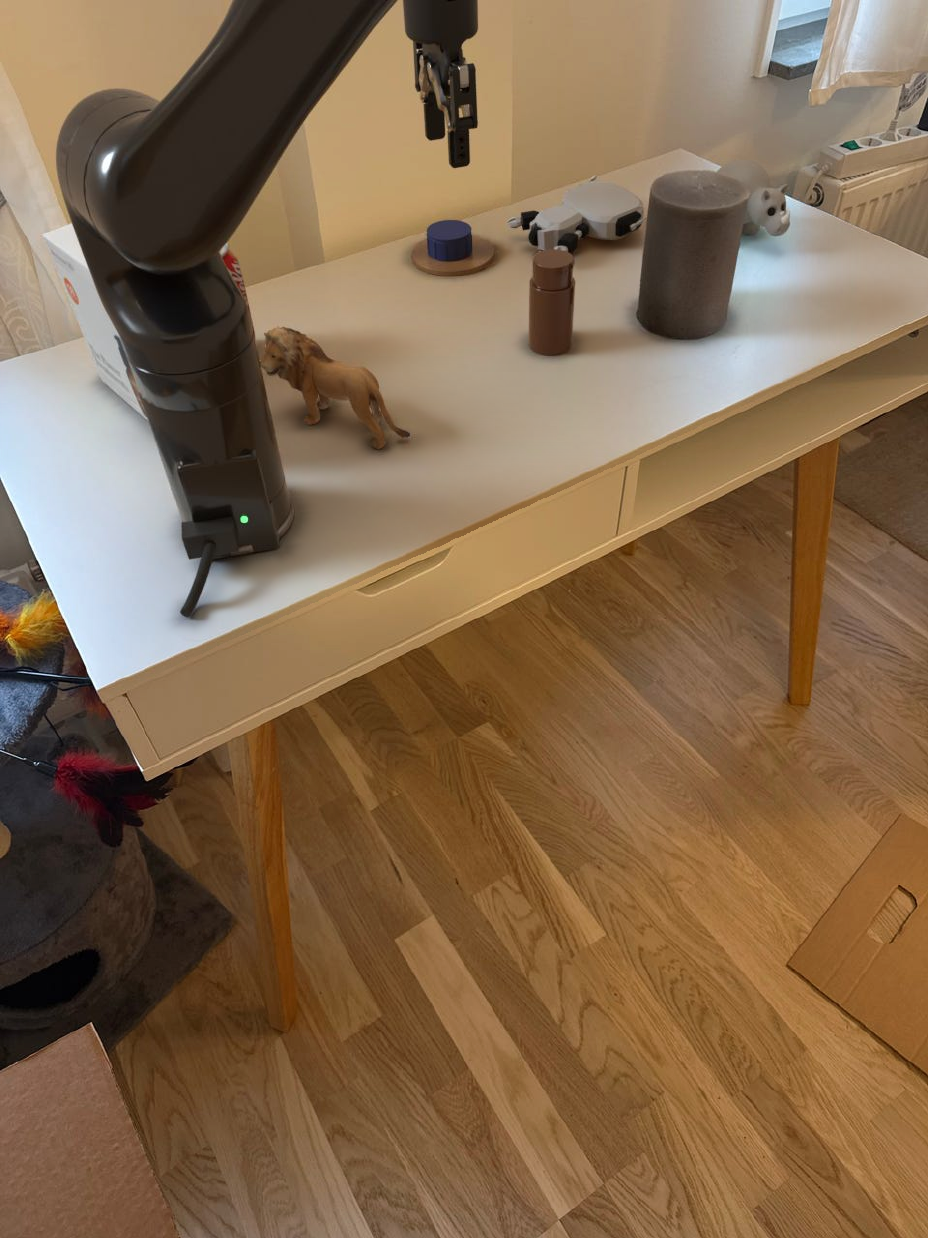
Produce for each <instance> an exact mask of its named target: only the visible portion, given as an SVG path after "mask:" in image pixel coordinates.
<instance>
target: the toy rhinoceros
mask: <svg viewBox="0 0 928 1238" xmlns="http://www.w3.org/2000/svg"><path fill="white" fill-rule="evenodd" d="M716 172H718V173H722V174H726V175H729V176H732V177H734V178H736V179H738V180H740V181H742V182H743V183H744V184H745V185H747V186H748V190H749V191H750V193H751V194H750V196H749V198H748V202H747V208H746V213H745V218H744V223H743V229H742V236H743V235H744V236H754V235H756V234H758V233H759V231H760V229H761V227H763V228H764V230H765V231H766V233H767V234H768V235H769V236H771V237H781V236H783V235H784V234H786V232H787V231H788V230H789V228H790V225H791V209H790V208H788V209H787V199H786V193H787V190H788V186H789V185H788V183H784V184H782V185H781V186H779V187H778V188H775V187H771V186H772V185H771V180H770V177H769V174H768V172H767V170H766V169H765V168H764V167H763V166H762V165H761V164H760V163H758V161H755V160H753V159H750V158H736V159H733V160H729V161H727V162H725V164H723V165H721V167H720V168H719V169H717V170H716Z"/></svg>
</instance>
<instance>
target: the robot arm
mask: <svg viewBox="0 0 928 1238" xmlns="http://www.w3.org/2000/svg"><path fill="white" fill-rule="evenodd" d="M397 2H398V0H231V3H230V5H229V7H228V9H227V12H226V14H225V16H224V18H223V20H222V22H221V24H220V25H219V27H218V29H217V31H216V32H215V33H214V35H213V36H212V38H211V40H210V41H209V42H208V44H207V46H206V47H204V50H202V52H201V53H200V54H199V56H197V58H196V59H195V60H194V62H193V63H192V64H191V65H190V66H189V68H188V69H187V71H185V73H184V74H183V75H182V77H181V78H180V79H179V80H178V82H177V83H175V85H174V86H173V87H172V88H171V89H170V90H169V91H168V93H167V94H166V95H165V96H164V97H163V98H161V100H159V99H157V98H155V97H153V96H151V95H150V94H147V93H143V92H141V91H138V90H134V89H128V88H121V87H120V88H119V87H117V88H106V89H101V90H99V91H96V92H93V93H91V94H88V95H87V96H85V97H84V98H82V99H81V100H80V101H79V102H78V103H76V105H74V106H73V108H71V110H70V112H69V113H68V114H67V115H66V117H65V119H64V121H63V122H62V124H61V127H60V129H59V133H58V136H57V141H56V148H55V168H56V175H57V180H58V184H59V189H60V192H61V196H62V199H63V202H64V205H65V208H66V211H67V213H68V217H69V219H70V223H72V225H73V228H74V231H75V233H76V236H77V239H78V242H79V244H80V247H81V250H82V252H83V255H84V258H85V260H86V263H87V266H88V268H89V271H90V274H91V277H92V279H93V282H94V285H95V287H96V290H97V293H98V295H99V297H100V300H101V302H102V304H103V306H104V308H105V310H106V312H107V314H108V316H109V318H110V319H111V321H112V323H113V325H114V327H115V328H116V330H117V332H118V334H119V337H120V339H121V342H122V344H123V347H124V350H125V353H126V355H127V359H128V362H129V365H130V368H131V371H132V373H133V376H134V379H135V382H136V385H137V388H138V391H139V395H140V398H141V401H142V404H143V407H144V410H145V413H146V416H147V419H148V421H147V422H148V425H149V428H150V430H151V433H152V437H153V439H154V443H155V446H156V449H157V452H158V454H159V457H160V460H161V463H162V466H163V469H164V472H165V475H166V478H167V480H168V483H169V487H170V490H171V492H172V496H173V499H174V501H175V503H176V507H177V509H178V513H179V515H180V519H181V524H180V525H181V541H182V543H183V547H184V550H185V552H186V555H187V558H188V560H194V559H200V561H199V564H198V568H197V572H196V575H195V578H194V581H193V583H192V585H191V588H190V591H189V592H188V595H187V597H186V600H185V602H184V604H183V605H182V607H181V609H180V610H179V613H180V615H181V616H182V617H184V618H190V617H191V616H192V614H193V612H194V611H195V609H196V607H197V605H198V603H199V600H200V598H201V596H202V593H203V590H204V588H205V585H206V583H207V579H208V577H209V573H210V571H211V567H212V563H213V560H217V559H222V558H229V557H235V556H243V555H247V554H251V553H259V552H264V551H269V550H276V549H279V547H280V539H281V538H282V537H283V536H284V535H285V534H286V533H287V531H288V530H289V529H290V527H291V525H292V523H293V521H294V517H295V511H294V505H293V501H292V497H291V495H290V492H289V486H288V483H287V479H286V474H285V470H284V467H283V462H282V461H283V460H282V456H281V452H280V448H279V443H278V438H277V434H276V429H275V425H274V421H273V416H272V411H271V408H270V403H269V398H268V393H267V389H266V384H265V380H264V379H265V378H264V375H263V371H262V367H261V365H260V360H261V359H260V356H259V351H258V347H257V341H256V342H255V339H256V336H255V337H254V333H253V328H252V324H251V319H250V315H249V310H248V307H247V303H246V300H245V298H244V296H243V294H242V292H241V290H240V289H239V287H238V285H237V284H236V282H235V280H234V279H233V277H232V276H231V274H230V272H229V270H228V268H227V267H226V265H225V263H224V261H223V259H222V256H221V254H220V252H219V251H220V250H221V249H222V248H223V247H224V245H225V244H226V243H228V242H229V241H230V239H231V238H232V237H233V235H234V234H235V233H236V231H237V230H238V228H239V227H240V225H241V224H242V222H243V220H244V219H245V218H246V216H247V214H248V213H249V211H250V209H251V208H252V206H253V204H254V203H255V201H256V200H257V198H258V196H259V195H260V193H261V191H262V190H263V188H264V187H265V185H266V183H267V181H268V180H269V178H270V177H271V175H272V173H273V172H274V170H275V168H276V167H277V166H278V164H279V162H280V160H281V158H282V157H283V155H284V153H285V152H286V150H287V149H288V147H289V145H290V144H291V142H292V141H293V139H294V137H295V136H296V135H297V133H298V131H299V130H300V128H301V127H302V125H303V124H304V122H305V121H306V120H307V118H308V117H309V115H310V114H311V113H312V111H313V110H314V109H315V107H316V106H317V104H319V102H320V101H321V100H322V98H323V97H324V95H325V94H326V93H327V92H328V91H329V89H330V88H331V87H332V85H333V84H334V83H335V81H336V80H337V79H338V78H339V76H340V75H341V73H343V71H344V69H345V68H346V67H347V66H348V64H349V63H350V62H351V60H352V59H353V57H354V56H355V55H356V53H357V52H358V51H359V49H360V48H361V46H362V45H363V44H364V43H365V41H366V40H367V38H368V37H370V35H371V33H372V32H373V30H374V29H375V28H376V26H377V25H378V24H379V23H380V22H381V20H382V19H383V18H385V16H386V15H387V13H388V12H389V11H390V10H391V9H392V8H393V7H394V6H395V4H397ZM402 6H403V7H402V8H403V21H404V32H405V35H406V37H407V38H408V39H409V40H410V41H412V48H413V49H412V50H413V68H414V88H415V90H416V92H417V93H420V94H419V99H420V101H421V104H423V105H422V106H423V119H424V134H425V137H426V139H427V140H428V141H430V142H432V141H437V140H443V139H444V138H445V137H446V132H447V151H448V154H447V155H448V165H449V166H450V167H451V168H452V169H458V168H459V169H460V168H465V167H467V166H469V165H470V162H471V149H470V148H471V147H470V130H474V129H478V125H479V121H478V98H477V76H476V75H477V70H476V65H475V64H474V63H473V62H472V63H471V62H470V63H467V59H466V57H465V56H464V52H463V51H464V50H463V44H464V43H465V42H466V41H467V40H470V39H472V38H474V37H475V36H476V34H477V33H478V30H479V2H478V0H402ZM460 110H461V113H462V114H461V115H462V116H461V117H460ZM446 129H447V131H446Z"/></svg>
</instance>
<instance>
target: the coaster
mask: <svg viewBox="0 0 928 1238" xmlns="http://www.w3.org/2000/svg"><path fill="white" fill-rule="evenodd" d="M494 259H495V248H494V246H493V244H492V243H491V242H490V241H489V240H487V239H485V238H483V237H482V236H478V235H474V234H472V252H471V254H470V255H469V256H468V257H466V258H464V259H462V260H458V261H449V262H448V261H446V262H445V261H439V260H436V259H433V258H432V257H430V256H429V254H428V248H427V238H424V239H423V240H421V241H419V242H418V243H417V244H415V245H414V247H413V248H412V250H411V261H412V263H413V265H414V266H415V267H416V268H417V269H419V270H420V271H422V272H425V273H427V274H431V275H435V276H442V277H456V276H465V275H469V274H473V273H476V272H479V271H482V270H483V269H485V268H487V267H488V266H489V265H491V263H492V262H493V261H494Z"/></svg>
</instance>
